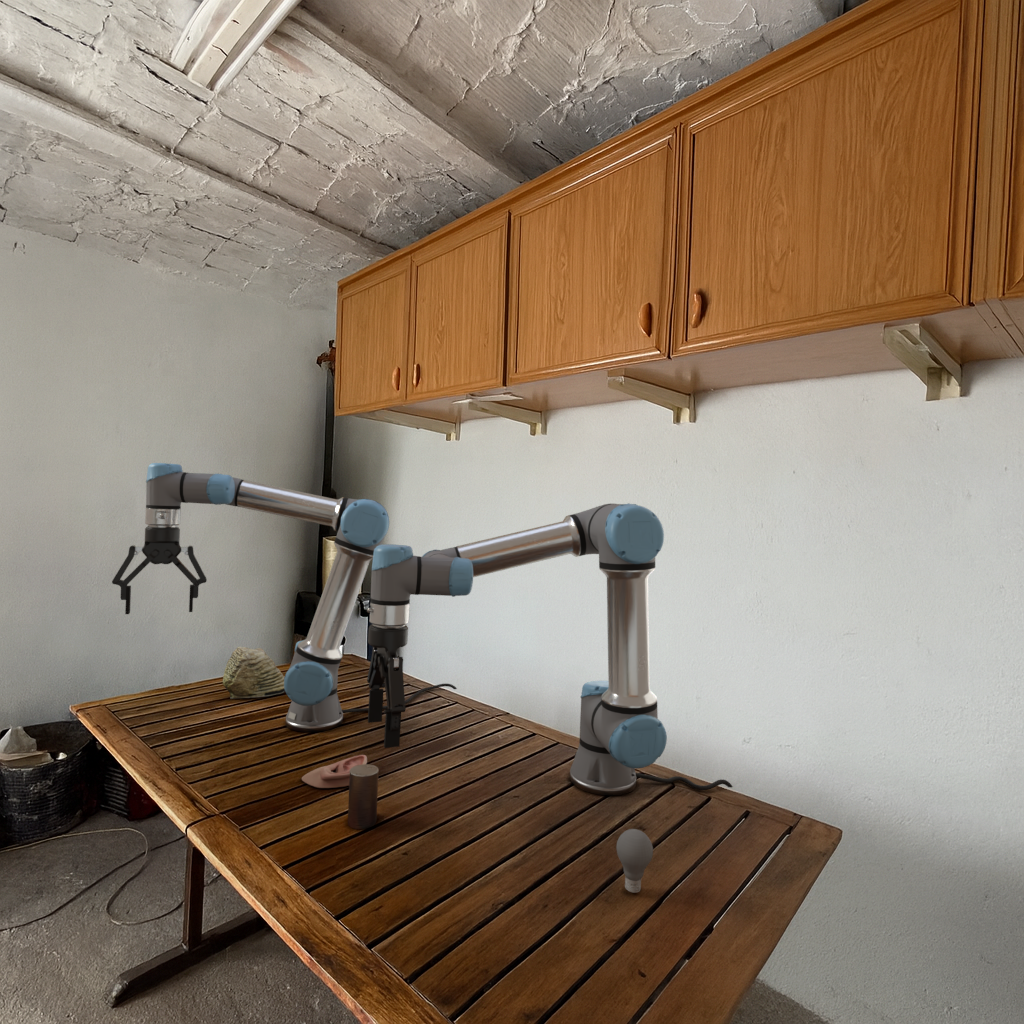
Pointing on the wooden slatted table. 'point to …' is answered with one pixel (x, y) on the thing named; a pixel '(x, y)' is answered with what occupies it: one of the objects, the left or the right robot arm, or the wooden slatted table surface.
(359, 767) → the can
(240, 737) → the wooden slatted table surface
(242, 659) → the fossil
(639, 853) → the light bulb
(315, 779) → the anatomical model
